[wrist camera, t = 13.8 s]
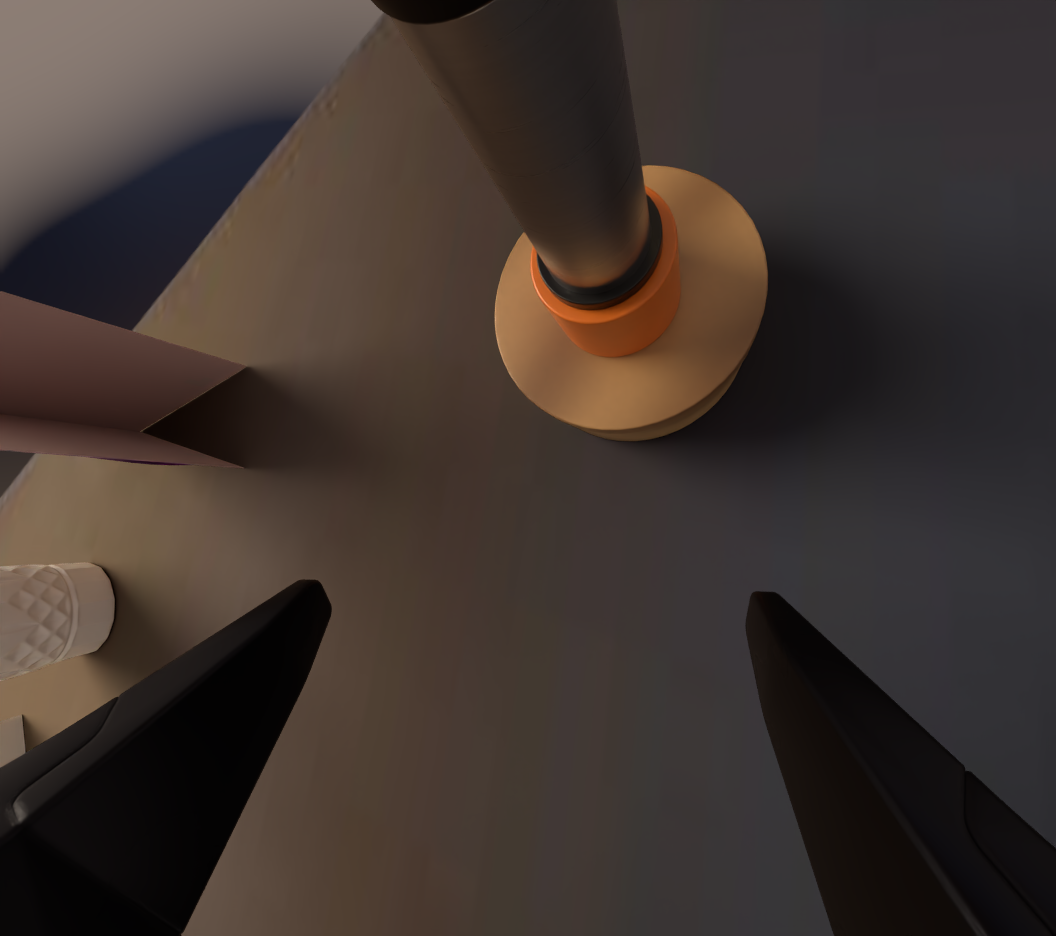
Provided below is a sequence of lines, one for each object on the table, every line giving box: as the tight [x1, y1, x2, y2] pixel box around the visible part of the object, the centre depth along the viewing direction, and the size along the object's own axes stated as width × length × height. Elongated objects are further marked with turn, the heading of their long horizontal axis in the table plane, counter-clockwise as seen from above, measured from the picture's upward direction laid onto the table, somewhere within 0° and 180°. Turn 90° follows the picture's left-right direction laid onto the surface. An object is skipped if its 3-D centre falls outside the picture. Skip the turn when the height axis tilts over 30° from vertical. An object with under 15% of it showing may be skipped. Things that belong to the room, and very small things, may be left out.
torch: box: [371, 0, 681, 357], centre depth 11 cm, size 5×5×13 cm
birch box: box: [495, 165, 768, 441], centre depth 19 cm, size 10×10×4 cm
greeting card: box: [0, 291, 246, 469], centre depth 25 cm, size 11×7×15 cm, turn 74°
